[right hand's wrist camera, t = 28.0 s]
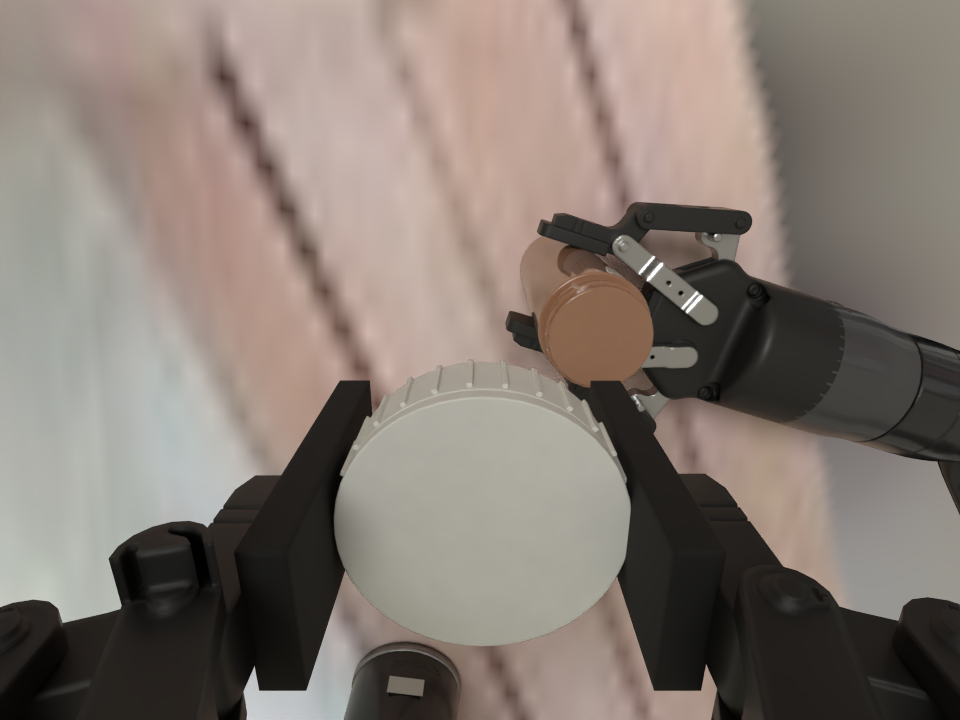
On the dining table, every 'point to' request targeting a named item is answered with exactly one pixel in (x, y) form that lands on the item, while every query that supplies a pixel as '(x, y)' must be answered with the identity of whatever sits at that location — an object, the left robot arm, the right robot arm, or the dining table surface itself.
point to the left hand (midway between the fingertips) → (524, 275)
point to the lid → (482, 506)
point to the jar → (585, 313)
